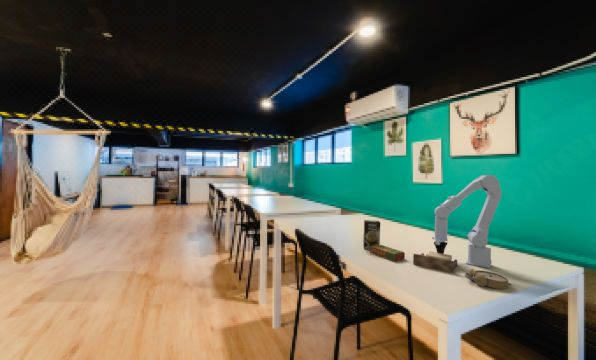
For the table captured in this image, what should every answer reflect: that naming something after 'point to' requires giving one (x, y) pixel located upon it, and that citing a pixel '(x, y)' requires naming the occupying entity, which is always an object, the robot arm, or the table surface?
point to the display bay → (434, 262)
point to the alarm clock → (488, 279)
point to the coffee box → (371, 234)
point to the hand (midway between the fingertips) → (440, 256)
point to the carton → (387, 253)
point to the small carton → (440, 255)
